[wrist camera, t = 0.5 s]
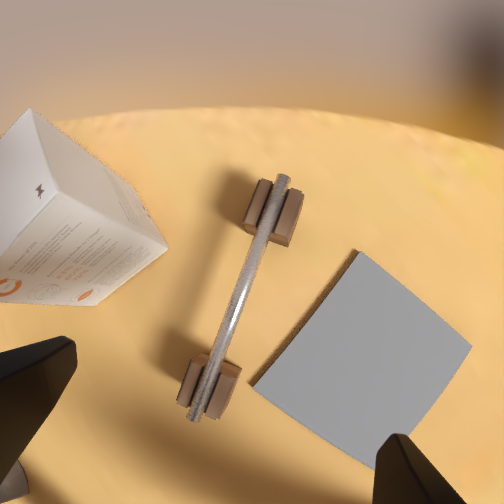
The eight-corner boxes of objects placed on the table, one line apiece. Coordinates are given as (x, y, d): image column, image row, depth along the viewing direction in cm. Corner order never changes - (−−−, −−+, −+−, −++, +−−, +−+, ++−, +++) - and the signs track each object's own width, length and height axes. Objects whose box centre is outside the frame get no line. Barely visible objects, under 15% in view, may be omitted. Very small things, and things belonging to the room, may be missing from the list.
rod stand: (227, 405, 21) (218, 421, 18) (188, 388, 21) (173, 402, 18) (301, 208, 23) (304, 192, 19) (262, 194, 23) (258, 177, 20)
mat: (374, 468, 19) (375, 471, 19) (252, 386, 21) (252, 388, 21) (469, 345, 20) (472, 346, 19) (359, 251, 22) (360, 250, 21)
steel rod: (201, 419, 18) (197, 424, 17) (188, 413, 18) (184, 417, 17) (291, 182, 20) (291, 176, 19) (277, 177, 20) (277, 172, 19)
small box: (134, 185, 24) (31, 101, 11) (171, 249, 23) (61, 193, 10) (64, 244, 24) (-55, 205, 11) (94, 308, 23) (-37, 304, 10)
